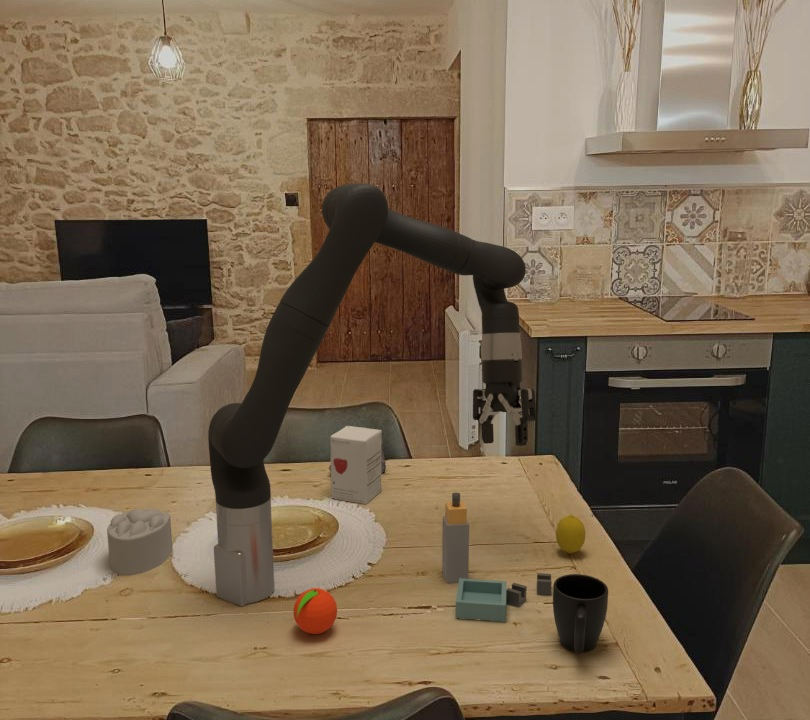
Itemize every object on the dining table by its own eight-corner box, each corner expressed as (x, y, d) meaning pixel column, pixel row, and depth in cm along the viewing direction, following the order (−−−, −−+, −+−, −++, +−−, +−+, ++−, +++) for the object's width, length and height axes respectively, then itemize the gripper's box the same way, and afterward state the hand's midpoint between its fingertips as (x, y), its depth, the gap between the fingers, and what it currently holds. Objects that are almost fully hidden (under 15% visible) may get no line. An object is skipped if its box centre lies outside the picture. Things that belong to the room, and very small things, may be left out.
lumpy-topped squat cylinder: (178, 545, 158) (175, 503, 157) (153, 576, 146) (150, 532, 144) (127, 543, 159) (123, 502, 157) (97, 574, 147) (93, 530, 145)
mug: (547, 668, 118) (549, 609, 116) (552, 625, 130) (555, 571, 127) (604, 676, 116) (608, 616, 114) (605, 631, 128) (608, 576, 126)
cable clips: (535, 612, 133) (535, 598, 133) (505, 603, 136) (506, 589, 136) (557, 588, 141) (557, 575, 141) (528, 580, 144) (529, 567, 143)
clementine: (315, 651, 123) (314, 608, 121) (280, 637, 126) (278, 596, 125) (346, 626, 129) (345, 586, 128) (312, 614, 133) (311, 575, 131)
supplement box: (329, 499, 181) (328, 435, 178) (347, 485, 189) (346, 424, 186) (366, 505, 178) (365, 440, 174) (382, 491, 186) (382, 429, 183)
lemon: (584, 561, 151) (586, 521, 149) (554, 558, 152) (556, 519, 151) (584, 548, 156) (586, 510, 155) (555, 546, 158) (556, 508, 156)
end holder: (505, 622, 130) (506, 605, 130) (455, 618, 131) (455, 602, 131) (506, 597, 138) (506, 581, 138) (459, 594, 139) (459, 578, 139)
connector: (468, 581, 144) (469, 497, 140) (446, 583, 143) (447, 498, 140) (463, 571, 148) (464, 489, 144) (442, 572, 147) (442, 490, 144)
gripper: (461, 359, 154) (463, 444, 154) (515, 356, 143) (518, 448, 143) (489, 359, 159) (491, 441, 158) (543, 356, 148) (546, 444, 147)
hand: (504, 444), depth 151 cm, fingers open, 8 cm apart
